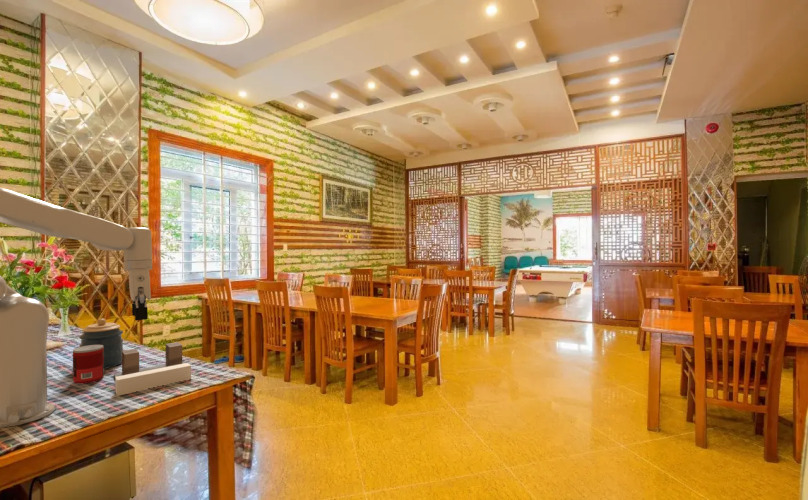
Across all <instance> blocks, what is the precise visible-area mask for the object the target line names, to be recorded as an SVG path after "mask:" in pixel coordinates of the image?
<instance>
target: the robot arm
mask: <svg viewBox="0 0 808 500" xmlns="http://www.w3.org/2000/svg"><path fill="white" fill-rule="evenodd" d="M0 223H2V224H6V225H9V226H13V227H15V228H19V229H22V230H27V231H30V232H33V233H37V234H41V235H45V236H50V237H55V238H60V239H61V238H63V239H64V238H65V239H72V240H76V241H77V240H78V241H82V242H85V243H90V244H91V245H92V246H93V247H94V248H96V249H97V250H101V251H105V252H107V251H108V252H109V251H113V252H115V251H116V252H121V251H123V270H124V271H126V272H128V283H129V284H128V286H129V295H130V299H131V300H132V304H131V312H132V313H131V315H132V316H133V317H134V321H137V322H138V321H145V320H148V317H149V316H148V313H149V312H148V304H147V300H148V301H150V300H151V298H152V295H151V294H152V293H151V278H150V271H151V270H153V248H152V247H153V246H152V245H153V244H152V242H153V241H152V240H153V239H152V231H151V229H150V228H148V227H125V226H124V225H120V224H118V223H115V222H113V221H110V220H106V219H103V218H100V217H97V216H93V215H90V214H86V213H82V212H80V211H79V212H78V211H76V210H73V209H69V208H66V207H61V206H59V205H55V204H53V203H49V202H46V201H43V200H41V199H38V198H36V197H35V198H33V197H31V196H28V195H26V194H23V193H19V192H17V191H14V190H11V189H7V188H4V187H1V186H0ZM49 325H50V314H49V310H48V308H47V307H46V305H45V304H44V303H43V302H41V301H39V300H38V299H35V298H32V297H27V296H24V295H22V294H20V293H19V292H17V290H15V289H13V288H11V286H9V285H8V284H7V282H6V280H5V278H4V277H3V276H2V275H0V428H9V427H15V426H19V425H23V424H27V423H32V422H35V421H37V420H39V419H43V418H45V417H47V416H49V415H51V414H52V413H53V412H55V409H56V404H54V403H52V402H48V373H47V372H48V365H47V363H48V362H47V361H48V359H47V357H48V356H47V337H48V330H49Z"/></svg>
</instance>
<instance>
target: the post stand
mask: <svg viewBox="0 0 808 500" xmlns="http://www.w3.org/2000/svg"><path fill="white" fill-rule="evenodd" d="M184 363H186V362H185V361H183V344H181V343H180V342H179V341H175V342H170V343H165V364H160V365H154V366H148V367H143V368H140V352H139V350H138V349H137V348H132V349H125V350H124V349H123V351H122V363H121V372H117V373H114V374H113V378H114V379H115V377H117V376H122V375H127V374H133V373H138V372H143V371H148V370H153V369H158V368H164V367H169V366H174V365H179V364H184Z"/></svg>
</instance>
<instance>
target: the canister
mask: <svg viewBox="0 0 808 500" xmlns="http://www.w3.org/2000/svg"><path fill="white" fill-rule="evenodd" d="M120 328H121V325H120V324H118V323H116V322H107V320H106V319H105V318H99V319H98V320H97V321H96V323H92V324H89V325H87V326H86V327H84V328H83V329H81V331H82V332H83V333H82V334H80V335H79V336H78V338H79V339H80V344H79V345H78V347H82V346H88V345H103V347H104V369H108V368H113V367H117V366H119V365H120V364H121V365H122V351H124V349H123V348H124V347H123V346H124V343H123V342H124V339H123V337H122V335H123V334H124V330H122V329H120Z"/></svg>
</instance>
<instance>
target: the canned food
mask: <svg viewBox="0 0 808 500" xmlns="http://www.w3.org/2000/svg"><path fill="white" fill-rule="evenodd" d="M104 375H105V368H104V347H103V345H88V346H82V347H79V346H78V347H76V348H74V349H72V381H73V383H74V384H76V385H85V384H90V383H94V382H98V381H101V380H102V379H103V378H104Z"/></svg>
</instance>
